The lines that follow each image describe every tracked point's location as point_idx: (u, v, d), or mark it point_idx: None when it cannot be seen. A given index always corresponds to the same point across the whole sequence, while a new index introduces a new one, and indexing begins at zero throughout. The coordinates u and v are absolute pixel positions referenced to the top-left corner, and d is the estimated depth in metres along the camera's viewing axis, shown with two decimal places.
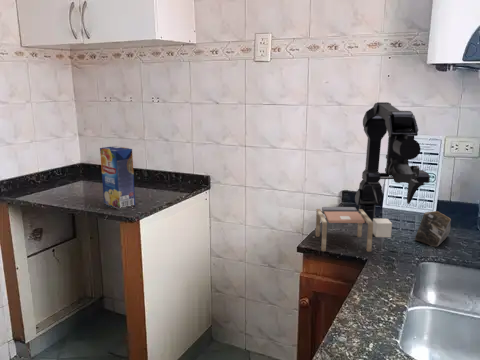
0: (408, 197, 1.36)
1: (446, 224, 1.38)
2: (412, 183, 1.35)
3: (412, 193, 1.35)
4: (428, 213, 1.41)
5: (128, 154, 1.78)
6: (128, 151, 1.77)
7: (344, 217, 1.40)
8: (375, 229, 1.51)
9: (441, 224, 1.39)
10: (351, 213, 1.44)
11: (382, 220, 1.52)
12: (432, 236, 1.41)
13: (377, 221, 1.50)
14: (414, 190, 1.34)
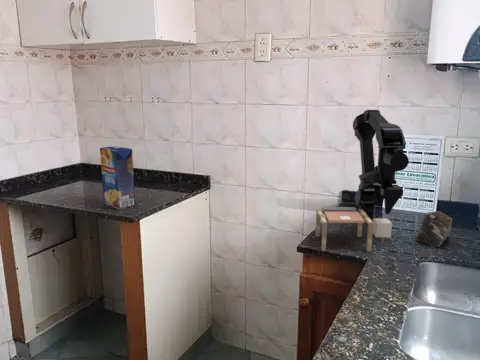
0: None
1: (448, 224, 1.38)
2: None
3: None
4: (429, 213, 1.41)
5: (128, 154, 1.78)
6: (128, 151, 1.77)
7: (344, 217, 1.40)
8: (375, 229, 1.51)
9: (442, 224, 1.39)
10: (351, 213, 1.44)
11: (381, 220, 1.52)
12: (434, 237, 1.41)
13: (377, 221, 1.51)
14: (385, 201, 1.44)
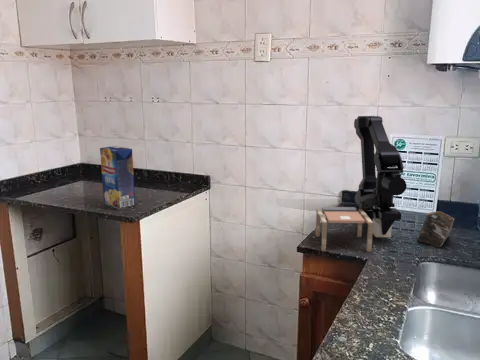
0: None
1: (450, 224, 1.38)
2: None
3: (381, 224, 1.48)
4: (431, 213, 1.40)
5: (128, 154, 1.78)
6: (128, 151, 1.77)
7: (344, 217, 1.40)
8: (375, 229, 1.51)
9: (444, 224, 1.39)
10: (351, 213, 1.44)
11: None
12: (436, 237, 1.41)
13: (377, 221, 1.50)
14: (381, 222, 1.47)
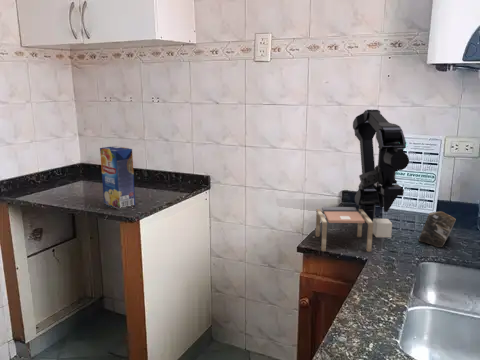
0: None
1: (451, 224, 1.38)
2: None
3: (383, 201, 1.46)
4: (433, 214, 1.40)
5: (128, 154, 1.78)
6: (128, 151, 1.77)
7: (344, 217, 1.40)
8: (375, 229, 1.51)
9: (446, 224, 1.38)
10: (351, 213, 1.44)
11: (382, 220, 1.52)
12: (437, 237, 1.41)
13: (377, 221, 1.50)
14: (383, 199, 1.45)
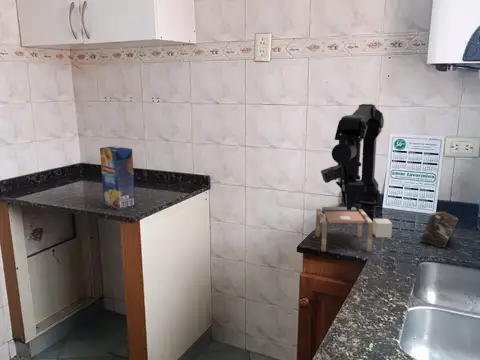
0: None
1: (454, 224, 1.38)
2: None
3: (345, 199, 1.36)
4: (435, 214, 1.40)
5: (128, 154, 1.78)
6: (128, 151, 1.77)
7: (344, 217, 1.40)
8: (375, 229, 1.51)
9: (448, 224, 1.38)
10: (351, 213, 1.44)
11: (382, 220, 1.52)
12: (439, 237, 1.40)
13: (377, 221, 1.50)
14: (345, 196, 1.35)
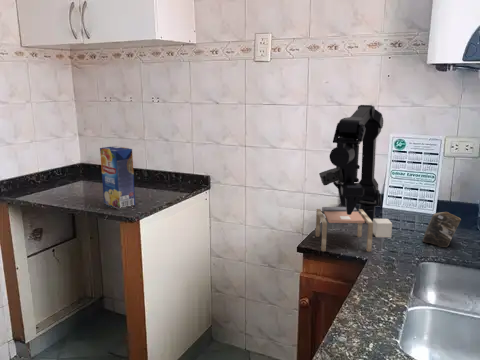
0: None
1: (457, 224, 1.38)
2: None
3: (345, 203, 1.33)
4: (438, 214, 1.40)
5: (128, 154, 1.78)
6: (128, 151, 1.77)
7: (344, 217, 1.40)
8: (375, 229, 1.51)
9: (451, 224, 1.38)
10: (351, 213, 1.44)
11: (382, 220, 1.52)
12: (442, 237, 1.40)
13: (377, 221, 1.50)
14: (345, 200, 1.33)
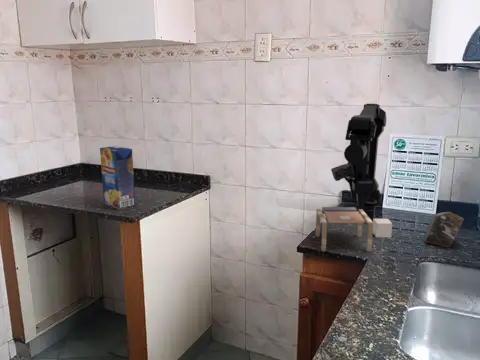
0: None
1: (459, 224, 1.38)
2: None
3: (357, 198, 1.38)
4: (440, 214, 1.40)
5: (128, 154, 1.78)
6: (128, 151, 1.77)
7: (344, 217, 1.40)
8: (375, 229, 1.51)
9: (454, 224, 1.38)
10: (351, 213, 1.44)
11: (382, 220, 1.52)
12: (445, 238, 1.40)
13: (377, 221, 1.50)
14: (357, 195, 1.38)
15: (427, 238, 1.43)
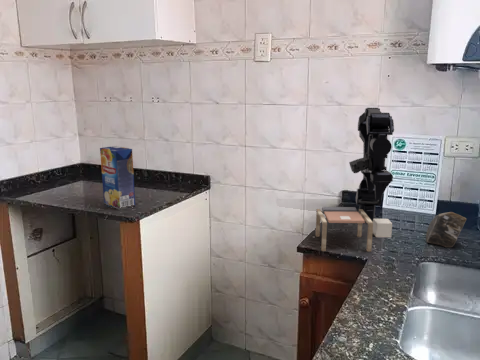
0: None
1: (462, 224, 1.38)
2: None
3: (374, 189, 1.45)
4: (443, 215, 1.39)
5: (128, 154, 1.78)
6: (128, 151, 1.77)
7: (344, 217, 1.40)
8: (375, 229, 1.51)
9: (456, 224, 1.38)
10: (351, 213, 1.44)
11: (382, 220, 1.52)
12: (448, 238, 1.40)
13: (377, 221, 1.50)
14: (374, 187, 1.45)
15: (430, 238, 1.43)
